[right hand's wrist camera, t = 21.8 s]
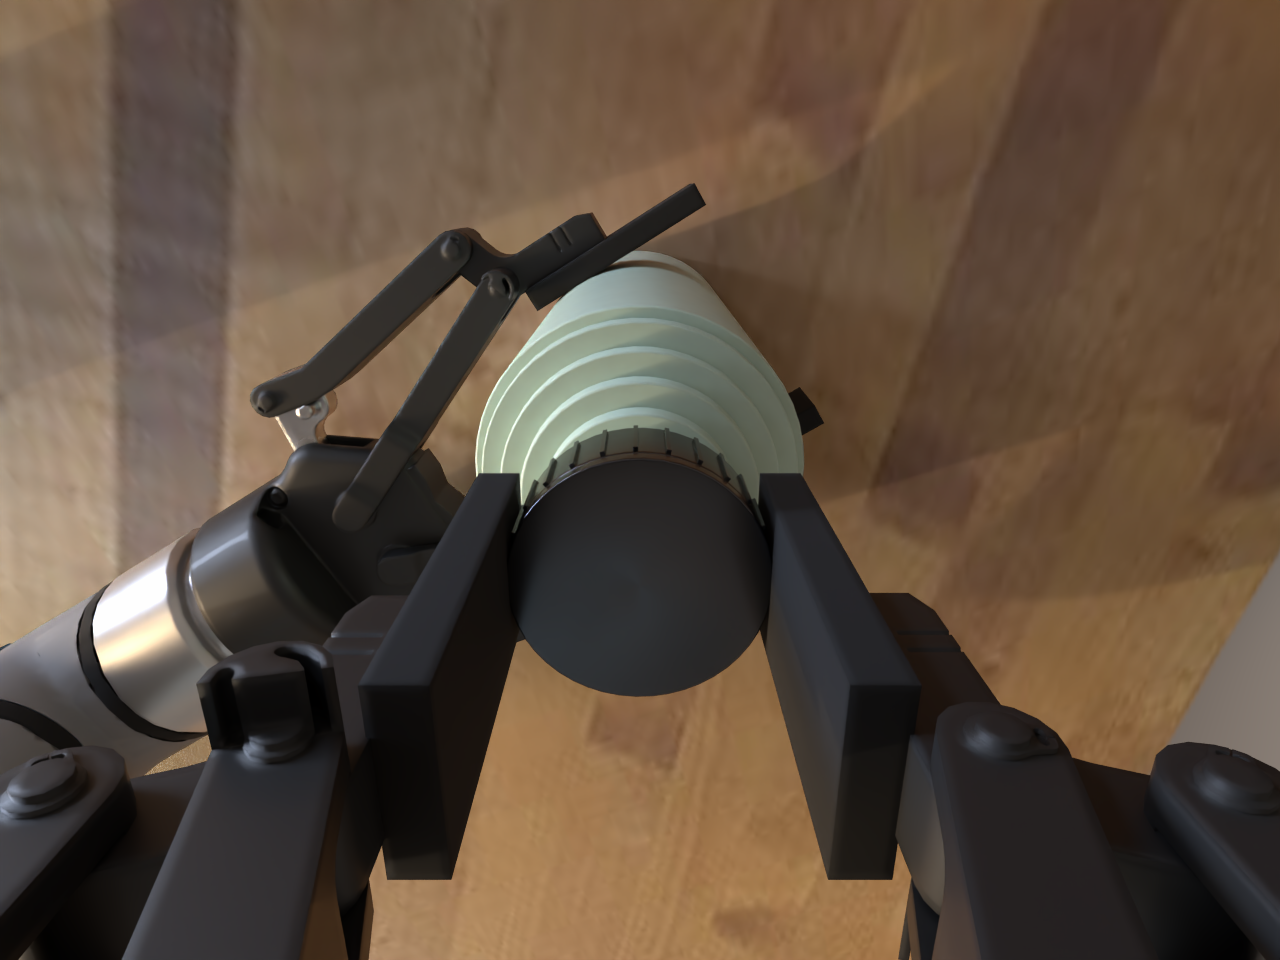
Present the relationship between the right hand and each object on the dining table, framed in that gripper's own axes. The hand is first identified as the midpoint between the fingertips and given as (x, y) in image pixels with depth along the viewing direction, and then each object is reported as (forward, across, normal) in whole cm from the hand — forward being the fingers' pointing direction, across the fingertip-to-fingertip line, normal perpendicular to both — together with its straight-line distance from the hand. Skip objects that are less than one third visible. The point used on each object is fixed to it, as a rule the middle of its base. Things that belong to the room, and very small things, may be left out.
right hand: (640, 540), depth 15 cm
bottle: (+20, 0, 0) cm, 20 cm away
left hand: (+14, -4, -2) cm, 15 cm away
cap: (-1, 0, 0) cm, 1 cm away
